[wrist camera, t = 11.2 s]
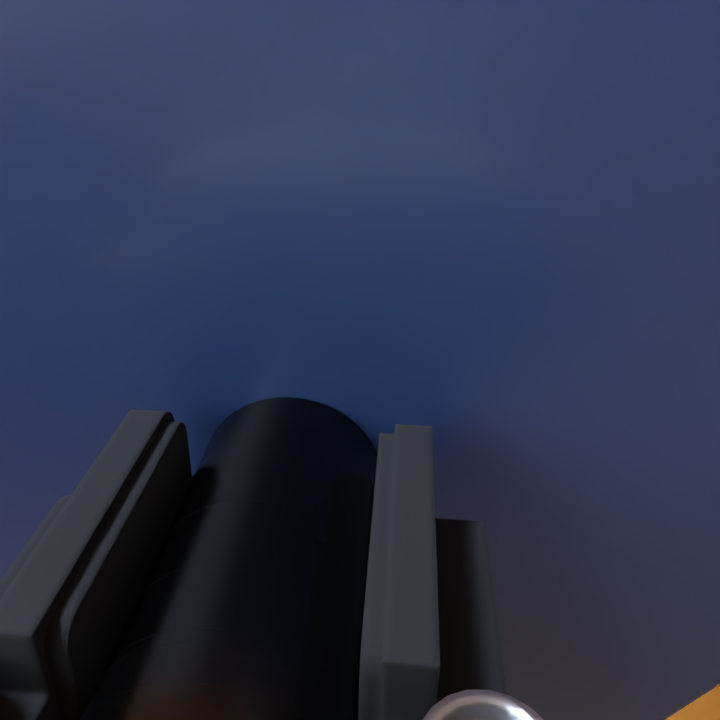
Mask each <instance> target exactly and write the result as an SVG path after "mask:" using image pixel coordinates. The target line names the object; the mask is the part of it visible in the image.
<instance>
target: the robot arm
mask: <svg viewBox="0 0 720 720" xmlns="http://www.w3.org/2000/svg"><path fill="white" fill-rule="evenodd" d="M191 480H192V470H191V462H190V454H189V446H188V437H187V430H186V426H185V424H184V423H183V422H175V420H174V417H173V415H172V413H170V412H168V411H150V410H130V411H129V412H128V413H127V415H126V416H125V417H124V419H123V420H122V422H121V423H120V425H119V426H118V428H117V429H116V431H115V432H114V433H113V435H112V436H111V438H110V439H109V441H108V442H107V444H106V445H105V447H104V448H103V449H102V451H101V452H100V454H99V455H98V457H97V458H96V460H95V461H94V463H93V464H92V465H91V467H90V468H89V470H88V471H87V473H86V474H85V476H84V477H83V479H82V480H81V481H80V483H79V484H78V486H77V487H76V489H75V490H74V492H73V493H72V495H66V496H64V497H62V498H60V499H59V500H58V501H57V502H56V504H55V505H54V506H53V507H52V508H51V510H50V511H49V513H48V514H47V516H46V517H45V518H44V520H43V521H42V523H41V524H40V525H39V527H38V528H37V530H36V531H35V533H34V534H33V535H32V537H31V538H30V540H29V541H28V542H27V544H26V545H25V547H24V548H23V549H22V551H21V552H20V554H19V555H18V557H17V558H16V559H15V561H14V562H13V564H12V565H11V566H10V568H9V569H8V571H7V572H6V574H5V575H4V576H3V578H2V579H1V581H0V720H81V718H82V716H83V714H84V712H85V710H86V708H87V705H88V703H89V701H90V699H91V697H92V695H93V692H94V690H95V688H96V686H97V684H98V682H99V679H100V677H101V675H102V673H103V671H104V669H105V666H106V664H107V662H108V660H109V658H110V656H111V653H112V651H113V649H114V647H115V645H116V643H117V640H118V638H119V636H120V634H121V632H122V630H123V627H124V625H125V623H126V621H127V619H128V617H129V614H130V612H131V610H132V608H133V606H134V604H135V601H136V599H137V597H138V595H139V593H140V591H141V588H142V586H143V584H144V582H145V580H146V578H147V575H148V573H149V571H150V569H151V567H152V564H153V562H154V560H155V558H156V556H157V554H158V551H159V549H160V547H161V545H162V543H163V541H164V538H165V536H166V534H167V532H168V530H169V528H170V525H171V523H172V521H173V519H174V517H175V515H176V512H177V510H178V508H179V506H180V504H181V502H182V499H183V497H184V495H185V493H186V491H187V489H188V486H189V484H190V482H191ZM358 720H543V719H542V718H541V717H540V716H539V715H538V714H537V713H536V712H535V711H534V710H533V709H532V708H531V707H529V706H527V705H526V704H524V703H522V702H521V701H519V700H517V699H515V698H514V697H512V696H509V695H507V694H506V686H505V678H504V670H503V662H502V654H501V646H500V639H499V631H498V623H497V615H496V607H495V599H494V591H493V583H492V575H491V567H490V559H489V551H488V544H487V536H486V529H485V525H484V522H483V521H473V520H457V519H441V518H435V492H434V462H433V432H432V426H421V425H403V424H395V430H394V434H386V433H380V434H379V444H378V455H377V467H376V478H375V490H374V501H373V513H372V524H371V536H370V547H369V559H368V570H367V581H366V593H365V604H364V616H363V627H362V640H361V655H360V674H359V709H358Z"/></svg>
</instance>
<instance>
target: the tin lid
mask: <svg viewBox="0 0 720 720" xmlns="http://www.w3.org/2000/svg"><path fill="white" fill-rule="evenodd" d="M130 410H150V411H168V412H170V413H172V415H173V417H174V420H175V422H183V423H184V424H185V426H186V430H187V437H188V446H189V454H190V462H191V470H192V480H191V482H190V484H189V486H188V489H187V491H186V493H185V495H184V497H183V499H182V502H181V504H180V506H179V508H178V510H177V512H176V515H175V517H174V519H173V521H172V523H171V525H170V528H169V530H168V532H167V534H166V536H165V538H164V541H163V543H162V545H161V547H160V549H159V551H158V554H157V556H156V558H155V560H154V562H153V564H152V567H151V569H150V571H149V573H148V575H147V578H146V580H145V582H144V584H143V586H142V588H141V591H140V593H139V595H138V597H137V599H136V601H135V604H134V606H133V608H132V610H131V612H130V614H129V617H128V619H127V621H126V623H125V625H124V627H123V630H122V632H121V634H120V636H119V638H118V640H117V643H116V645H115V647H114V649H113V651H112V653H111V656H110V658H109V660H108V662H107V664H106V666H105V669H104V671H103V673H102V675H101V677H100V679H99V682H98V684H97V686H96V688H95V690H94V692H93V695H92V697H91V699H90V701H89V703H88V705H87V708H86V710H85V712H84V714H83V716H82V718H81V720H358V709H359V674H360V655H361V640H362V627H363V616H364V604H365V593H366V581H367V570H368V559H369V547H370V536H371V524H372V513H373V501H374V490H375V478H376V467H377V455H378V444H379V434H380V433H386V434H394V430H395V424H403V425H421V426H432V432H433V462H434V492H435V518H441V519H457V520H473V521H483V522H484V525H485V529H486V536H487V544H488V551H489V559H490V567H491V575H492V583H493V591H494V599H495V607H496V615H497V623H498V631H499V639H500V646H501V654H502V662H503V670H504V678H505V686H506V694H507V695H509V696H512V697H514V698H515V699H517V700H519V701H521V702H522V703H524V704H526V705H527V706H529V707H531V708H532V709H533V710H534V711H535V712H536V713H537V714H538V715H539V716H540V717H541V718H542V719H543V720H664V719H666V718H668V717H669V716H671V715H672V714H674V713H676V712H677V711H679V710H680V709H682V708H683V707H685V706H687V705H688V704H690V703H691V702H693V701H694V700H696V699H697V698H699V697H701V696H702V695H704V694H705V693H707V692H708V691H710V690H712V689H713V688H714V687H716V686H717V685H718V684H719V683H720V0H0V581H1V579H2V578H3V576H4V575H5V574H6V572H7V571H8V569H9V568H10V566H11V565H12V564H13V562H14V561H15V559H16V558H17V557H18V555H19V554H20V552H21V551H22V549H23V548H24V547H25V545H26V544H27V542H28V541H29V540H30V538H31V537H32V535H33V534H34V533H35V531H36V530H37V528H38V527H39V525H40V524H41V523H42V521H43V520H44V518H45V517H46V516H47V514H48V513H49V511H50V510H51V508H52V507H53V506H54V505H55V504H56V502H57V501H58V500H59V499H60V498H62V497H64V496H66V495H72V493H73V492H74V490H75V489H76V487H77V486H78V484H79V483H80V481H81V480H82V479H83V477H84V476H85V474H86V473H87V471H88V470H89V468H90V467H91V465H92V464H93V463H94V461H95V460H96V458H97V457H98V455H99V454H100V452H101V451H102V449H103V448H104V447H105V445H106V444H107V442H108V441H109V439H110V438H111V436H112V435H113V433H114V432H115V431H116V429H117V428H118V426H119V425H120V423H121V422H122V420H123V419H124V417H125V416H126V415H127V413H128V412H129V411H130Z"/></svg>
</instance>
